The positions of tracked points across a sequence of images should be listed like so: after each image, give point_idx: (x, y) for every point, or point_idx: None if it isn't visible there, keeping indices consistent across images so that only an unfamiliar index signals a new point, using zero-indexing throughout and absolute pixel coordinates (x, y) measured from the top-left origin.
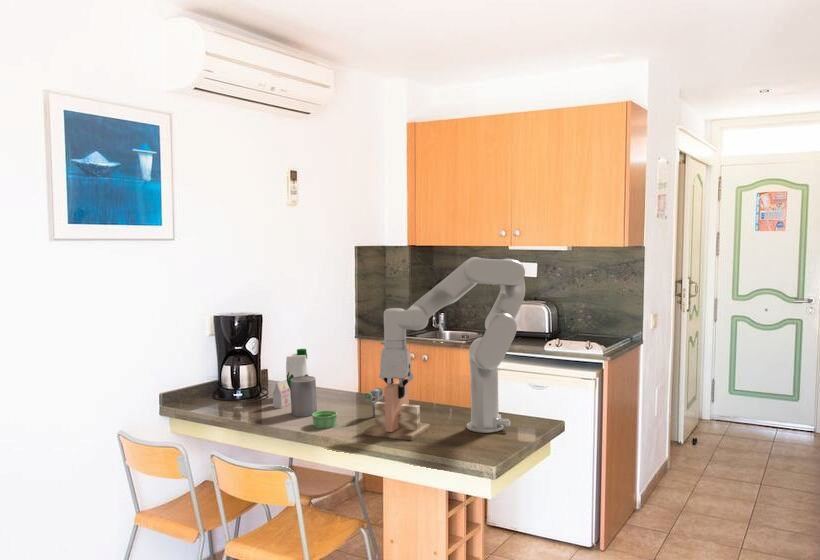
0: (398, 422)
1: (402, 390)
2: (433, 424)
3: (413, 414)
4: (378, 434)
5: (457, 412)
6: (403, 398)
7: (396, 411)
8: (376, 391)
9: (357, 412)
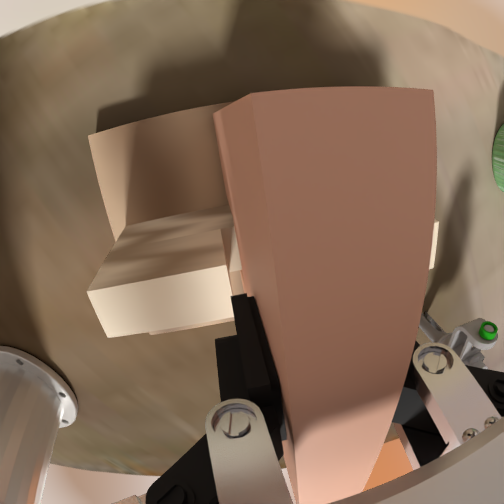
0: None
1: (223, 377)
2: (175, 362)
3: (125, 259)
4: None
5: None
6: None
7: (231, 202)
8: None
9: (471, 317)
